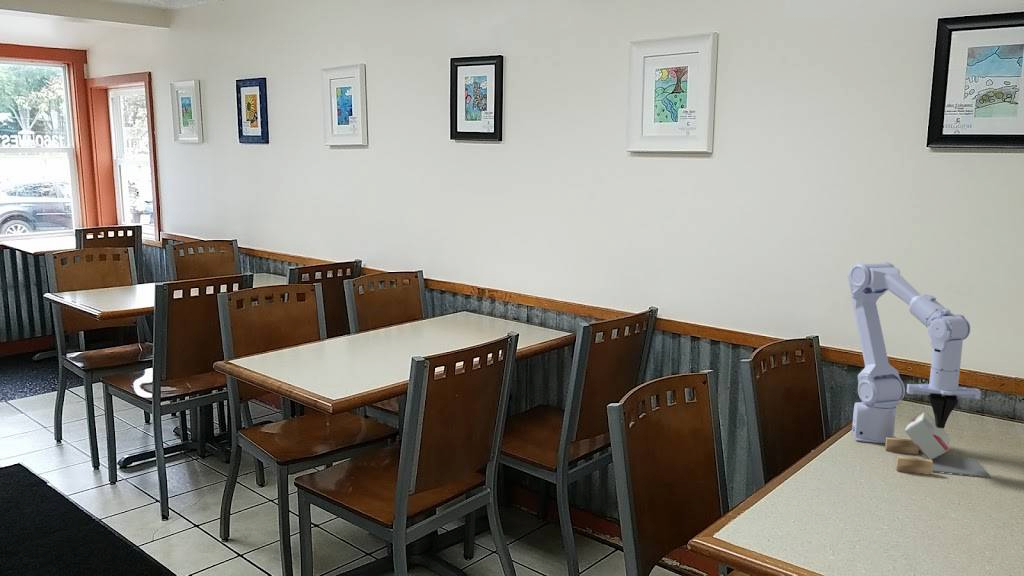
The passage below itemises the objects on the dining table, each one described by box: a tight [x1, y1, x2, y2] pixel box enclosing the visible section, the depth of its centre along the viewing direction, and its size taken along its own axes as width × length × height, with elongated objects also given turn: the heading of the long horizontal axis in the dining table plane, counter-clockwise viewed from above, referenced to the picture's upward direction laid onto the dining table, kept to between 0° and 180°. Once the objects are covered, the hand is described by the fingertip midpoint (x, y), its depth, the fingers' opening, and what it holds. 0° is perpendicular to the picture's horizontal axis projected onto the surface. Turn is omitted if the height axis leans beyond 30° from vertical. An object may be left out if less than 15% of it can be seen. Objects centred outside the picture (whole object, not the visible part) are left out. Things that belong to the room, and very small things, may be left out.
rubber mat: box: [920, 452, 992, 479], centre depth 177 cm, size 12×11×1 cm
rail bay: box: [884, 437, 933, 475], centre depth 179 cm, size 7×14×3 cm, turn 164°
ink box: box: [904, 410, 951, 460], centre depth 183 cm, size 9×5×12 cm
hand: (939, 426), depth 176 cm, fingers closed
